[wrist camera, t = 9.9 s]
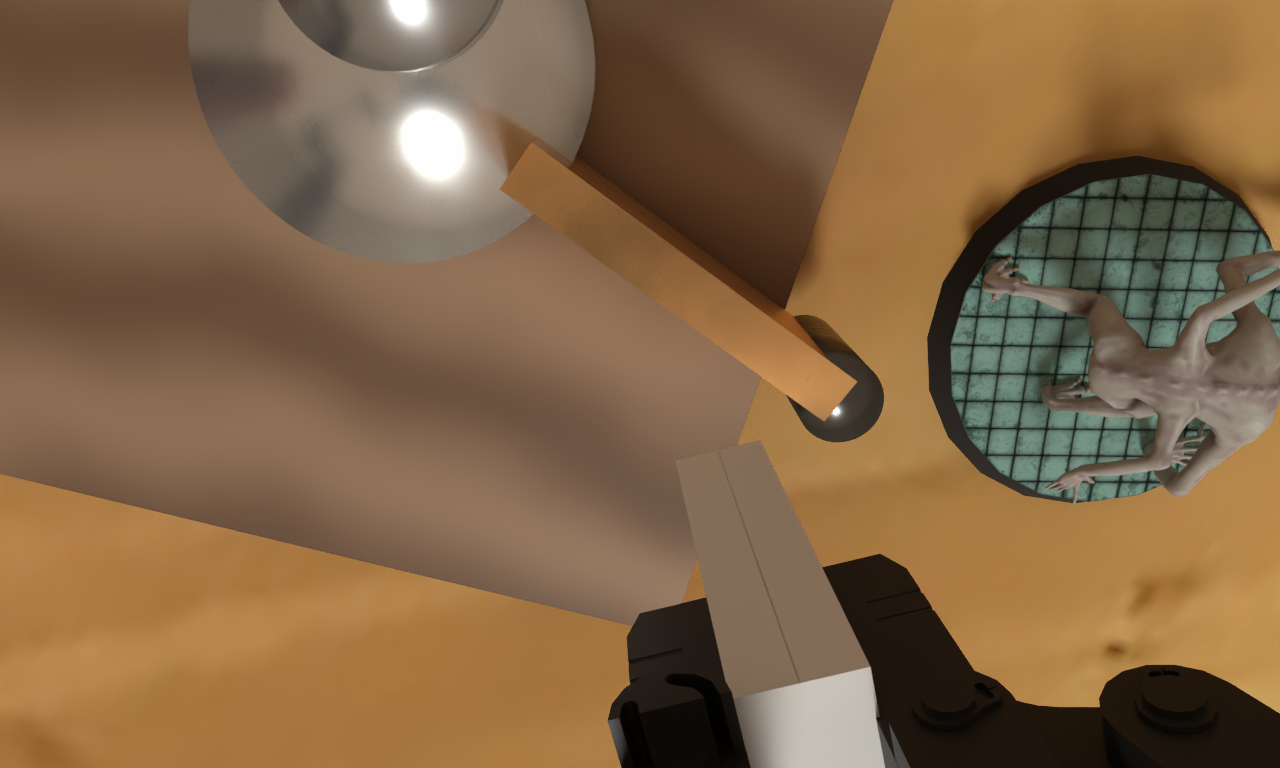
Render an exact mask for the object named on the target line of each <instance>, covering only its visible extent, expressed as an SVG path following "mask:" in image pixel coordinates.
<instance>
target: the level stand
mask: <svg viewBox="0 0 1280 768" xmlns="http://www.w3.org/2000/svg"><path fill="white" fill-rule="evenodd" d="M190 2H191V0H0V474H3V475H8V476H12V477H16V478H20V479H24V480H28V481H32V482H37V483H41V484H45V485H49V486H53V487H57V488H61V489H66V490H70V491H74V492H78V493H82V494H86V495H91V496H95V497H99V498H103V499H107V500H111V501H115V502H120V503H124V504H128V505H132V506H136V507H140V508H144V509H149V510H153V511H157V512H161V513H165V514H169V515H174V516H178V517H182V518H186V519H190V520H194V521H198V522H203V523H207V524H211V525H215V526H219V527H223V528H228V529H232V530H236V531H240V532H244V533H248V534H252V535H257V536H261V537H265V538H269V539H273V540H277V541H281V542H286V543H290V544H294V545H298V546H302V547H306V548H311V549H315V550H319V551H323V552H327V553H331V554H335V555H340V556H344V557H348V558H352V559H356V560H360V561H364V562H369V563H373V564H377V565H381V566H385V567H389V568H394V569H398V570H402V571H406V572H410V573H414V574H418V575H423V576H427V577H431V578H435V579H439V580H443V581H447V582H452V583H456V584H460V585H464V586H468V587H472V588H477V589H481V590H485V591H489V592H493V593H497V594H501V595H506V596H510V597H514V598H518V599H522V600H526V601H530V602H535V603H539V604H543V605H547V606H551V607H555V608H560V609H564V610H568V611H572V612H576V613H580V614H584V615H589V616H593V617H597V618H601V619H605V620H609V621H614V622H618V623H622V624H626V625H630V626H633V625H634V623H635V621H636V619H637V617H638V615H639V614H640V613H643V612H647V611H652V610H656V609H660V608H664V607H669V606H673V605H677V604H681V603H682V600H683V597H684V595H685V592H686V589H687V586H688V583H689V580H690V577H691V575H692V572H693V569H694V566H695V563H696V560H697V553H696V549H695V545H694V540H693V536H692V531H691V527H690V523H689V518H688V514H687V509H686V505H685V501H684V496H683V492H682V487H681V483H680V479H679V474H678V470H677V466H676V460H681V459H685V458H689V457H693V456H697V455H701V454H706V453H710V452H714V451H718V450H722V449H726V448H731V447H735V446H737V444H738V441H739V438H740V435H741V432H742V430H743V427H744V424H745V421H746V418H747V415H748V413H749V410H750V407H751V404H752V401H753V398H754V396H755V393H756V390H757V387H758V384H759V381H760V378H761V376H760V375H758V374H757V373H755V372H754V371H753V370H751V369H750V368H748V367H747V366H746V365H744V364H743V363H741V362H740V361H739V360H737V359H736V358H734V357H733V356H732V355H730V354H729V353H727V352H726V351H725V350H723V349H722V348H720V347H719V346H718V345H716V344H715V343H713V342H712V341H711V340H709V339H708V338H706V337H705V336H704V335H702V334H701V333H699V332H698V331H697V330H695V329H694V328H693V327H691V326H690V325H688V324H687V323H686V322H684V321H683V320H681V319H680V318H679V317H677V316H676V315H674V314H673V313H672V312H670V311H669V310H667V309H666V308H665V307H663V306H662V305H660V304H659V303H658V302H656V301H655V300H653V299H652V298H651V297H649V296H648V295H646V294H645V293H644V292H642V291H641V290H639V289H638V288H637V287H635V286H634V285H632V284H631V283H630V282H628V281H627V280H625V279H624V278H623V277H621V276H620V275H618V274H617V273H616V272H614V271H613V270H611V269H610V268H609V267H607V266H606V265H604V264H603V263H602V262H600V261H599V260H597V259H596V258H595V257H593V256H592V255H590V254H589V253H588V252H586V251H585V250H583V249H582V248H581V247H579V246H578V245H577V244H575V243H574V242H572V241H571V240H570V239H568V238H567V237H565V236H564V235H563V234H561V233H560V232H558V231H557V230H556V229H554V228H553V227H551V226H550V225H549V224H547V223H546V222H544V221H543V220H542V219H540V218H539V217H537V216H536V215H535V214H533V215H532V216H531V217H530V218H529V219H528V220H527V221H525V222H524V223H523V224H521V225H520V226H519V227H517V228H516V229H514V230H513V231H512V232H510V233H509V234H508V235H506V236H504V237H502V238H501V239H499V240H497V241H495V242H493V243H491V244H489V245H488V246H486V247H483V248H481V249H478V250H475V251H473V252H470V253H467V254H465V255H462V256H458V257H453V258H449V259H445V260H440V261H433V262H422V263H392V262H383V261H377V260H371V259H365V258H361V257H358V256H354V255H351V254H348V253H344V252H341V251H338V250H336V249H333V248H331V247H329V246H326V245H324V244H322V243H320V242H317V241H315V240H313V239H312V238H310V237H308V236H306V235H305V234H303V233H301V232H300V231H298V230H296V229H295V228H293V227H291V226H290V225H289V224H287V223H286V222H285V221H283V220H282V219H281V218H280V217H278V216H277V215H276V214H274V213H273V212H272V211H270V210H269V209H268V208H267V207H266V206H265V205H264V204H263V203H262V202H261V201H260V200H259V199H258V198H257V197H256V196H255V195H254V194H253V193H252V192H251V191H250V190H249V189H248V188H247V186H246V185H245V184H244V183H243V181H242V180H241V179H240V178H239V177H238V175H237V174H236V173H235V172H234V170H233V169H232V167H231V166H230V164H229V163H228V161H227V160H226V158H225V157H224V155H223V153H222V152H221V150H220V149H219V147H218V145H217V143H216V141H215V139H214V137H213V135H212V133H211V131H210V129H209V127H208V125H207V123H206V120H205V117H204V114H203V112H202V109H201V106H200V103H199V100H198V98H197V94H196V89H195V85H194V81H193V76H192V72H191V65H190V55H189V45H188V24H189V8H190ZM585 3H586V6H587V11H588V15H589V19H590V24H591V28H592V33H593V37H594V47H595V57H596V82H595V93H594V99H593V106H592V112H591V115H590V119H589V122H588V126H587V129H586V133H585V136H584V138H583V140H582V142H581V145H580V147H579V149H578V152H577V154H576V156H577V157H578V158H580V159H581V160H582V161H584V162H585V163H586V164H588V165H589V166H591V167H592V168H593V169H595V170H596V171H597V172H599V173H600V174H601V175H603V176H604V177H605V178H607V179H608V180H609V181H611V182H612V183H613V184H615V185H616V186H618V187H619V188H620V189H622V190H623V191H624V192H626V193H627V194H628V195H630V196H631V197H632V198H634V199H635V200H636V201H638V202H639V203H641V204H642V205H643V206H645V207H646V208H647V209H649V210H650V211H651V212H653V213H654V214H655V215H657V216H658V217H659V218H661V219H662V220H664V221H665V222H666V223H668V224H669V225H670V226H672V227H673V228H674V229H676V230H677V231H678V232H680V233H681V234H682V235H684V236H685V237H686V238H688V239H689V240H691V241H692V242H693V243H695V244H696V245H697V246H699V247H700V248H701V249H703V250H704V251H705V252H707V253H708V254H709V255H711V256H712V257H714V258H715V259H716V260H718V261H719V262H720V263H722V264H723V265H724V266H726V267H727V268H728V269H730V270H731V271H732V272H734V273H735V274H736V275H738V276H739V277H741V278H742V279H743V280H745V281H746V282H747V283H749V284H750V285H751V286H753V287H754V288H755V289H757V290H758V291H759V292H761V293H762V294H764V295H765V296H766V297H768V298H769V299H770V300H772V301H773V302H774V303H776V304H777V305H778V306H780V307H781V308H782V309H784V310H785V307H786V305H787V302H788V299H789V296H790V293H791V290H792V287H793V285H794V282H795V279H796V276H797V273H798V270H799V268H800V265H801V262H802V259H803V256H804V253H805V250H806V248H807V245H808V242H809V239H810V236H811V233H812V231H813V228H814V225H815V222H816V219H817V216H818V214H819V211H820V208H821V205H822V202H823V199H824V196H825V194H826V191H827V188H828V185H829V182H830V179H831V177H832V174H833V171H834V168H835V165H836V162H837V159H838V157H839V154H840V151H841V148H842V145H843V142H844V140H845V137H846V134H847V131H848V128H849V125H850V123H851V120H852V117H853V114H854V111H855V108H856V105H857V103H858V100H859V97H860V94H861V91H862V88H863V86H864V83H865V80H866V77H867V74H868V71H869V69H870V66H871V63H872V60H873V57H874V54H875V51H876V49H877V46H878V43H879V40H880V37H881V34H882V32H883V29H884V26H885V23H886V20H887V17H888V14H889V12H890V9H891V6H892V3H893V0H585Z"/></svg>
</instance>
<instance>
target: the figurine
mask: <svg viewBox="0 0 1280 768" xmlns="http://www.w3.org/2000/svg"><path fill="white" fill-rule="evenodd" d="M1279 266H1280V251H1274V249H1273V248H1272V246H1271V242H1270V239H1269V237H1268V235H1267V234H1266V232H1265V231H1264V230H1263V228H1262V227H1261V226H1260V224H1259V223H1258V221H1257V220H1256V219H1255V217H1254V216H1253V215H1252V213H1251V212H1250V210H1249V209H1248V208H1247V206H1246V205H1245V203H1244V202H1243V201H1242V199H1241V198H1240V197H1239V195H1237V194H1236V193H1234V192H1233V191H1231V190H1229V189H1228V188H1226V187H1225V186H1223V185H1221V184H1220V183H1218V182H1217V181H1215V180H1213V179H1212V178H1210V177H1209V176H1207V175H1205V174H1204V173H1202V172H1201V171H1199V170H1197V169H1196V168H1194V167H1192V166H1187V165H1182V164H1176V163H1171V162H1166V161H1161V160H1156V159H1151V158H1146V157H1141V156H1133V157H1126V158H1119V159H1112V160H1105V161H1098V162H1091V163H1083V164H1078V165H1076V166H1073V167H1071V168H1069V169H1067V170H1065V171H1063V172H1061V173H1059V174H1056V175H1054V176H1052V177H1050V178H1048V179H1046V180H1044V181H1042V182H1039V183H1037V184H1035V185H1033V186H1031V187H1029V188H1027V189H1025V190H1022V191H1021V192H1020V193H1019V194H1018V195H1017V196H1016V197H1014V198H1013V199H1012V200H1011V201H1010V202H1009V203H1008V204H1006V205H1005V206H1004V207H1003V208H1002V209H1001V210H1000V211H998V212H997V213H996V214H995V215H994V216H993V217H992V218H991V219H989V220H988V221H987V222H986V223H985V224H984V225H983V226H981V227H980V228H979V229H978V230H977V231H976V232H975V233H974V235H973V236H972V238H971V240H970V241H969V243H968V244H967V246H966V247H965V249H964V250H963V252H962V254H961V255H960V257H959V258H958V260H957V261H956V263H955V265H954V266H953V268H952V269H951V271H950V272H949V274H948V275H947V277H946V279H945V280H944V282H943V284H942V288H941V291H940V295H939V298H938V302H937V305H936V309H935V312H934V316H933V319H932V323H931V326H930V330H929V333H928V337H927V341H928V367H929V391H930V393H931V396H932V398H933V401H934V403H935V406H936V408H937V411H938V413H939V416H940V418H941V421H942V423H943V426H944V428H945V430H946V433H947V435H948V437H949V438H950V440H951V441H952V442H953V443H954V444H955V445H956V446H957V447H958V448H959V449H960V451H961V452H962V453H963V454H964V455H965V456H966V457H967V458H968V459H969V460H970V462H971V463H972V464H973V465H974V466H975V467H976V468H977V469H978V470H979V471H980V472H981V473H982V474H984V475H986V476H988V477H990V478H992V479H994V480H996V481H998V482H999V483H1001V484H1003V485H1005V486H1007V487H1009V488H1011V489H1013V490H1015V491H1017V492H1019V493H1020V494H1022V495H1025V496H1031V497H1038V498H1044V499H1050V500H1056V501H1063V502H1069V503H1073V504H1074V505H1075V503H1080V502H1090V501H1098V500H1105V499H1112V498H1120V497H1127V496H1134V495H1139V494H1142V493H1144V492H1146V491H1149V490H1151V489H1154V488H1156V487H1158V486H1161V485H1163V486H1164V487H1165V488H1166V489H1167V491H1169V492H1170V493H1171V494H1172V495H1174V496H1177V497H1181V496H1183V495H1186V494H1188V493H1189V492H1190V490H1191V488H1192V487H1194V486H1195V485H1196V484H1197V483H1198V482H1199V481H1200V480H1201V479H1202V478H1203V477H1204V476H1205V475H1206V473H1207V472H1209V471H1210V470H1212V469H1213V468H1215V467H1216V466H1218V465H1219V464H1220V463H1222V462H1223V461H1224V460H1226V459H1227V458H1228V457H1229V456H1230V455H1232V454H1233V453H1234V452H1235V451H1237V450H1238V449H1239V448H1240V447H1242V446H1243V445H1245V444H1248V443H1251V442H1253V441H1254V440H1255V439H1256V438H1257V437H1258V436H1260V435H1261V434H1262V433H1263V432H1264V431H1265V430H1266V429H1267V428H1268V427H1269V426H1270V425H1271V423H1272V420H1273V418H1274V414H1275V408H1276V406H1277V404H1278V402H1279V401H1280V269H1279Z"/></svg>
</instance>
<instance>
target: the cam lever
mask: <svg viewBox="0 0 1280 768" xmlns="http://www.w3.org/2000/svg"><path fill="white" fill-rule="evenodd" d="M188 45H189V55H190V65H191V72H192V76H193V81H194V85H195V89H196V94H197V98H198V100H199V103H200V106H201V109H202V112H203V114H204V117H205V120H206V123H207V125H208V127H209V129H210V131H211V133H212V135H213V137H214V139H215V141H216V143H217V145H218V147H219V149H220V150H221V152H222V153H223V155H224V157H225V158H226V160H227V161H228V163H229V164H230V166H231V167H232V169H233V170H234V172H235V173H236V174H237V175H238V177H239V178H240V179H241V180H242V181H243V183H244V184H245V185H246V186H247V188H248V189H249V190H250V191H251V192H252V193H253V194H254V195H255V196H256V197H257V198H258V199H259V200H260V201H261V202H262V203H263V204H264V205H265V206H266V207H267V208H268V209H269V210H270V211H272V212H273V213H274V214H276V215H277V216H278V217H280V218H281V219H282V220H283V221H285V222H286V223H287V224H289V225H290V226H291V227H293V228H295V229H296V230H298V231H300V232H301V233H303V234H305V235H306V236H308V237H310V238H312V239H313V240H315V241H317V242H320V243H322V244H324V245H326V246H329V247H331V248H333V249H336V250H338V251H341V252H344V253H348V254H351V255H354V256H358V257H361V258H365V259H371V260H377V261H383V262H392V263H422V262H433V261H440V260H445V259H449V258H453V257H458V256H462V255H465V254H467V253H470V252H473V251H475V250H478V249H481V248H483V247H486V246H488V245H489V244H491V243H493V242H495V241H497V240H499V239H501V238H502V237H504V236H506V235H508V234H509V233H510V232H512V231H513V230H514V229H516V228H517V227H519V226H520V225H521V224H523V223H524V222H525V221H527V220H528V219H529V218H530V217H531V216H532V215H533V214H535V215H536V216H537V217H539V218H540V219H542V220H543V221H544V222H546V223H547V224H549V225H550V226H551V227H553V228H554V229H556V230H557V231H558V232H560V233H561V234H563V235H564V236H565V237H567V238H568V239H570V240H571V241H572V242H574V243H575V244H577V245H578V246H579V247H581V248H582V249H583V250H585V251H586V252H588V253H589V254H590V255H592V256H593V257H595V258H596V259H597V260H599V261H600V262H602V263H603V264H604V265H606V266H607V267H609V268H610V269H611V270H613V271H614V272H616V273H617V274H618V275H620V276H621V277H623V278H624V279H625V280H627V281H628V282H630V283H631V284H632V285H634V286H635V287H637V288H638V289H639V290H641V291H642V292H644V293H645V294H646V295H648V296H649V297H651V298H652V299H653V300H655V301H656V302H658V303H659V304H660V305H662V306H663V307H665V308H666V309H667V310H669V311H670V312H672V313H673V314H674V315H676V316H677V317H679V318H680V319H681V320H683V321H684V322H686V323H687V324H688V325H690V326H691V327H693V328H694V329H695V330H697V331H698V332H699V333H701V334H702V335H704V336H705V337H706V338H708V339H709V340H711V341H712V342H713V343H715V344H716V345H718V346H719V347H720V348H722V349H723V350H725V351H726V352H727V353H729V354H730V355H732V356H733V357H734V358H736V359H737V360H739V361H740V362H741V363H743V364H744V365H746V366H747V367H748V368H750V369H751V370H753V371H754V372H755V373H757V374H758V375H760V376H761V377H762V378H764V379H765V380H767V381H768V382H769V383H771V384H772V385H774V386H775V387H776V388H778V389H779V390H781V391H782V392H783V393H785V394H786V396H787V398H788V399H789V401H790V403H791V404H792V406H793V408H794V409H795V411H796V413H797V415H798V416H799V418H800V420H801V421H802V423H803V425H804V426H805V428H806V429H807V430H808V431H809V432H810V433H812V434H813V435H814V436H816V437H818V438H820V439H822V440H825V441H830V442H845V441H850V440H853V439H856V438H858V437H860V436H861V435H863V434H865V433H866V432H867V431H868V430H870V428H871V427H872V426H873V425H874V424H875V423H876V421H877V420H878V418H879V416H880V414H881V411H882V408H883V402H884V394H883V388H882V385H881V383H880V380H879V379H878V377H877V376H876V375H875V373H874V372H873V371H872V370H871V369H870V368H869V367H868V366H867V365H866V364H865V363H864V362H863V361H862V359H861V358H860V357H859V356H858V355H857V354H856V353H855V352H854V351H853V350H852V349H851V348H850V347H849V346H848V345H847V344H846V343H845V341H844V340H843V339H842V338H841V337H840V336H839V335H838V334H837V333H836V332H835V331H834V330H833V329H832V328H831V327H830V326H829V325H828V324H827V323H826V322H825V321H823V320H822V319H820V318H818V317H814V316H810V315H798V316H794V317H793V316H792V315H791V314H789V313H788V312H787V311H785V310H784V309H782V308H781V307H780V306H778V305H777V304H776V303H774V302H773V301H772V300H770V299H769V298H768V297H766V296H765V295H764V294H762V293H761V292H759V291H758V290H757V289H755V288H754V287H753V286H751V285H750V284H749V283H747V282H746V281H745V280H743V279H742V278H741V277H739V276H738V275H736V274H735V273H734V272H732V271H731V270H730V269H728V268H727V267H726V266H724V265H723V264H722V263H720V262H719V261H718V260H716V259H715V258H714V257H712V256H711V255H709V254H708V253H707V252H705V251H704V250H703V249H701V248H700V247H699V246H697V245H696V244H695V243H693V242H692V241H691V240H689V239H688V238H686V237H685V236H684V235H682V234H681V233H680V232H678V231H677V230H676V229H674V228H673V227H672V226H670V225H669V224H668V223H666V222H665V221H664V220H662V219H661V218H659V217H658V216H657V215H655V214H654V213H653V212H651V211H650V210H649V209H647V208H646V207H645V206H643V205H642V204H641V203H639V202H638V201H636V200H635V199H634V198H632V197H631V196H630V195H628V194H627V193H626V192H624V191H623V190H622V189H620V188H619V187H618V186H616V185H615V184H613V183H612V182H611V181H609V180H608V179H607V178H605V177H604V176H603V175H601V174H600V173H599V172H597V171H596V170H595V169H593V168H592V167H591V166H589V165H588V164H586V163H585V162H584V161H582V160H581V159H580V158H578V157H577V156H576V154H577V152H578V149H579V147H580V145H581V142H582V140H583V138H584V136H585V133H586V129H587V126H588V122H589V119H590V115H591V112H592V106H593V99H594V93H595V82H596V57H595V47H594V37H593V33H592V28H591V24H590V19H589V15H588V11H587V6H586V3H585V0H191V2H190V8H189V24H188Z"/></svg>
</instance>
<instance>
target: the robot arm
mask: <svg viewBox="0 0 1280 768" xmlns="http://www.w3.org/2000/svg"><path fill="white" fill-rule="evenodd" d="M676 466H677V470H678V474H679V479H680V483H681V487H682V492H683V496H684V501H685V505H686V509H687V514H688V518H689V523H690V527H691V531H692V536H693V540H694V545H695V549H696V553H697V558H698V562H699V567H700V571H701V575H702V580H703V584H704V589H705V593H706V597H707V598H702V599H698V600H694V601H690V602H686V603H681V604H677V605H673V606H669V607H664V608H660V609H656V610H652V611H647V612H643V613H640V614H639V615H638V617H637V619H636V621H635V623H634V625H633V627H632V628H631V630H630V632H629V634H628V636H627V647H628V661H629V678H630V685H629V686H628V687H626V688H625V689H624V690H623V691H622V692H621V693H620V695H619V696H618V697H617V698H616V700H615V701H614V702H613V703H612V706H611V710H610V714H609V718H608V723H609V727H610V730H611V733H612V737H613V740H614V743H615V747H616V750H617V753H618V757H619V760H620V764H621V767H622V768H1280V714H1279V713H1278V712H1276V711H1275V710H1273V709H1271V708H1270V707H1268V706H1266V705H1265V704H1263V703H1262V702H1260V701H1258V700H1257V699H1255V698H1254V697H1252V696H1250V695H1249V694H1247V693H1245V692H1244V691H1242V690H1241V689H1239V688H1237V687H1236V686H1234V685H1232V684H1231V683H1229V682H1227V681H1225V680H1223V679H1220V678H1218V677H1216V676H1214V675H1211V674H1209V673H1207V672H1205V671H1202V670H1197V669H1192V668H1187V667H1182V666H1177V665H1145V666H1141V667H1138V668H1134V669H1130V670H1126V671H1123V672H1121V673H1120V674H1118V675H1117V676H1115V677H1114V678H1112V679H1111V680H1110V681H1108V682H1107V683H1106V684H1105V687H1104V689H1103V691H1102V693H1101V695H1100V698H1099V701H1100V707H1049V706H1037V705H1032V704H1028V703H1024V702H1020V701H1016V700H1015V698H1014V697H1013V695H1012V694H1011V693H1010V692H1009V691H1008V690H1007V689H1006V688H1005V687H1004V686H1002V685H1001V684H1000V683H999V682H998V681H997V680H995V679H993V678H990V677H988V676H986V675H983V674H981V673H979V672H976V671H974V670H973V668H972V666H971V665H970V663H969V662H968V660H967V659H966V657H965V656H964V654H963V653H962V651H961V650H960V648H959V647H958V645H957V644H956V642H955V641H954V639H953V638H952V636H951V635H950V633H949V632H948V630H947V629H946V627H945V626H944V624H943V623H942V621H941V620H940V618H939V617H938V615H937V614H936V612H935V611H933V610H932V607H931V605H930V603H929V602H928V600H927V599H926V597H925V596H924V594H923V593H921V591H920V588H919V587H918V585H917V584H916V582H915V581H914V579H913V578H912V576H911V575H910V573H909V572H908V570H907V569H906V568H905V567H903V566H901V565H899V564H898V563H896V562H894V561H892V560H890V559H889V558H887V557H885V556H883V555H881V554H877V555H873V556H869V557H865V558H860V559H856V560H852V561H848V562H844V563H839V564H835V565H831V566H827V567H822V566H821V564H820V562H819V560H818V558H817V556H816V554H815V552H814V550H813V548H812V546H811V544H810V542H809V540H808V537H807V535H806V533H805V531H804V529H803V527H802V525H801V523H800V521H799V519H798V517H797V515H796V513H795V511H794V509H793V507H792V505H791V503H790V500H789V498H788V496H787V494H786V492H785V490H784V488H783V486H782V484H781V482H780V480H779V478H778V476H777V474H776V472H775V470H774V468H773V466H772V464H771V461H770V459H769V457H768V455H767V453H766V451H765V449H764V447H763V445H762V443H761V441H756V442H751V443H747V444H743V445H739V446H735V447H731V448H726V449H722V450H718V451H714V452H710V453H706V454H701V455H697V456H693V457H689V458H685V459H681V460H676Z"/></svg>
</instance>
